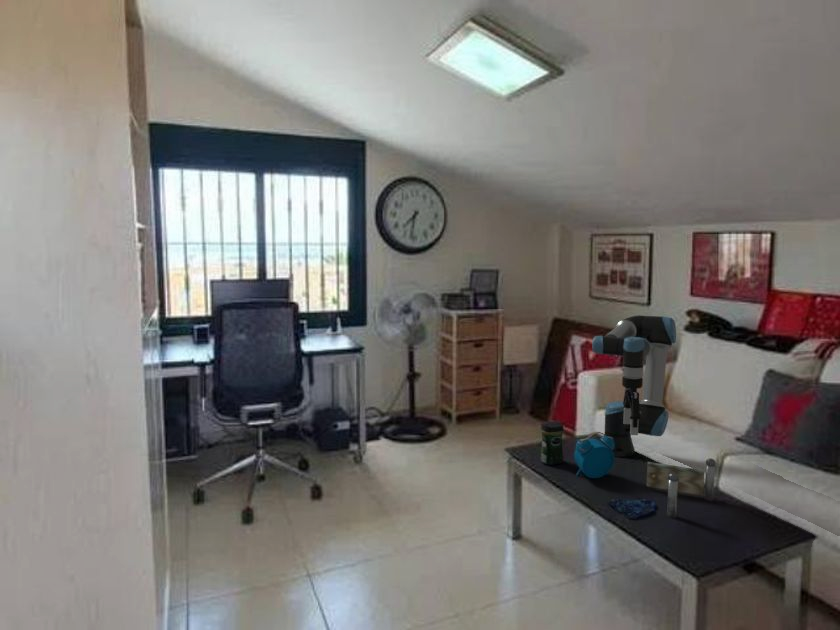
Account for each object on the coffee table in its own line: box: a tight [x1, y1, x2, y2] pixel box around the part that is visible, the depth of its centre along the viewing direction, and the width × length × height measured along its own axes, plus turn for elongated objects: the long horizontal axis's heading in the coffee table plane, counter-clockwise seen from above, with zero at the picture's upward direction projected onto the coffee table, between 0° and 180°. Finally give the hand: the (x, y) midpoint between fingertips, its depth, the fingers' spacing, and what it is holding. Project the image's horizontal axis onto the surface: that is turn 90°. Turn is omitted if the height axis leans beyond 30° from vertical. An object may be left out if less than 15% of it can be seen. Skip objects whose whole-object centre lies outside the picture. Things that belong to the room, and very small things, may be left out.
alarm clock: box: [573, 431, 615, 479], centre depth 239 cm, size 17×10×20 cm, turn 105°
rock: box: [607, 498, 656, 520], centre depth 211 cm, size 15×17×2 cm
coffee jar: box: [539, 420, 564, 466], centre depth 255 cm, size 10×8×19 cm
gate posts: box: [666, 458, 717, 519], centre depth 211 cm, size 27×3×16 cm, turn 124°
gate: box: [646, 461, 705, 496], centre depth 222 cm, size 20×3×9 cm, turn 64°
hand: (630, 429), depth 229 cm, fingers open, 13 cm apart
